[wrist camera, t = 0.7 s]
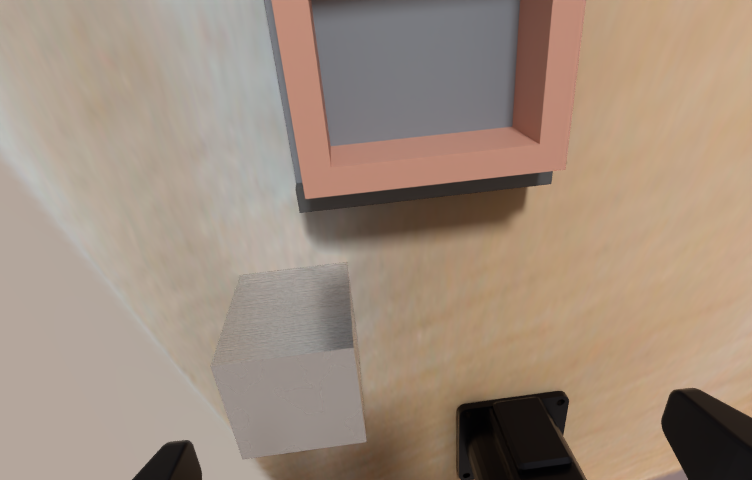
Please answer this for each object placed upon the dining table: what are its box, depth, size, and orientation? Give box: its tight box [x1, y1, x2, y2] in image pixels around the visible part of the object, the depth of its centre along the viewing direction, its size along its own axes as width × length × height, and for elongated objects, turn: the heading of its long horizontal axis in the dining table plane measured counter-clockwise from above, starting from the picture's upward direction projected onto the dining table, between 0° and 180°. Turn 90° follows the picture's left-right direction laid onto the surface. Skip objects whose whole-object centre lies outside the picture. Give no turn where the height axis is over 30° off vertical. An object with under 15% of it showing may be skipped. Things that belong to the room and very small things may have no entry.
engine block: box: [211, 262, 367, 459], centre depth 19 cm, size 5×5×6 cm
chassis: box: [264, 0, 586, 213], centre depth 15 cm, size 12×10×4 cm
